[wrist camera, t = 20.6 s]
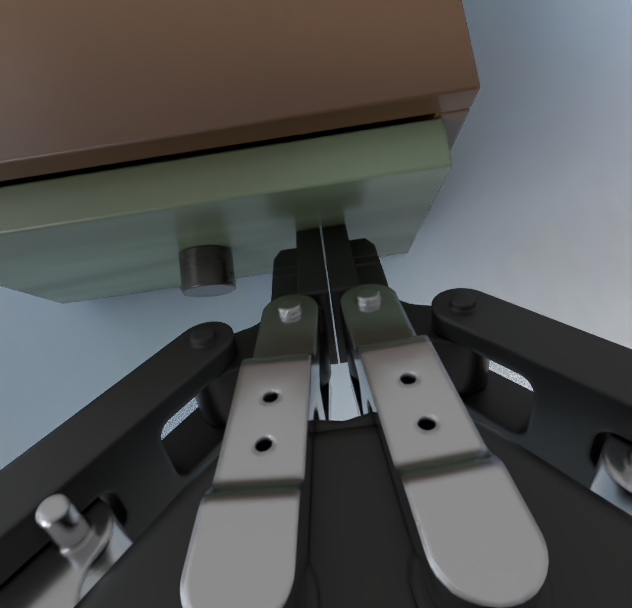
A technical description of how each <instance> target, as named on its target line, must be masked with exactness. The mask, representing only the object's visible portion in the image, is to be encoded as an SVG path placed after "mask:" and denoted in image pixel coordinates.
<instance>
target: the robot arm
mask: <svg viewBox="0 0 632 608" xmlns="http://www.w3.org/2000/svg"><path fill="white" fill-rule="evenodd" d="M322 234H323V241H324V249H325V256H326V264H327V271H328V279H329V286H330V293H331V300H332V307H333V314H334V321H335V329H336V336H337V343H338V350H339V357H340V363H345V362H348V367H349V373H350V381H351V387H352V391H353V395H354V398H355V402H356V406H357V410H358V414H359V416H358V417H355V418H352V419H350V420H346V421H332V420H331V383H330V377H331V364H338V359H337V351H336V344H335V336H334V328H333V320H332V313H331V305H330V297H329V289H328V282H327V275H326V268H325V261H324V254H323V247H322V240H321V233H320V228H319V229H312V230H305V231H298V232H296V248H292V249H285V250H281V251H280V252H279V253H278V255H277V256H276V257H275V258H274V263H273V280H272V297H271V302H270V303H269V304H268V305H267V306H266V307H265V308H264V310H263V313H262V317H261V322H260V323H258V324H257V325H255V326H253V327H250V328H248V329H245V330H242V331H240V332H237V333H233V330H232V328H231V327H230V326H229V325H227V324H225V323H222V322H206V323H202V324H199V325H196V326H194V327H192V328H190V329H188V330H187V331H185V332H184V333H182V334H181V335H180V336H178V337H177V338H176V339H174V340H173V341H172V342H170V343H169V344H168V345H166V346H165V347H164V348H162V349H161V350H160V351H158V352H157V353H156V354H154V355H153V356H152V357H150V358H149V359H148V360H146V361H145V362H144V363H142V364H141V365H140V366H138V367H137V368H136V369H135V370H133V371H132V372H131V373H129V374H128V375H127V376H125V377H124V378H123V379H121V380H120V381H119V382H117V383H116V384H115V385H113V386H112V387H111V388H109V389H108V390H107V391H105V392H104V393H103V394H101V395H100V396H99V397H97V398H96V399H95V400H93V401H92V402H91V403H89V404H88V405H87V406H85V407H84V408H83V409H81V410H80V411H79V412H77V413H76V414H75V415H73V416H72V417H71V418H69V419H68V420H67V421H65V422H64V423H63V424H61V425H60V426H59V427H57V428H56V429H55V430H53V431H52V432H51V433H49V434H48V435H47V436H45V437H44V438H43V439H41V440H40V441H39V442H37V443H36V444H35V445H33V446H32V447H31V448H29V449H28V450H27V451H25V452H24V453H23V454H21V455H20V456H19V457H17V458H16V459H15V460H13V461H12V462H11V463H10V464H8V465H7V466H6V467H4V468H3V469H2V470H0V608H632V349H629V348H627V347H624V346H621V345H619V344H616V343H613V342H611V341H608V340H606V339H603V338H600V337H598V336H595V335H593V334H590V333H587V332H585V331H582V330H580V329H577V328H574V327H572V326H569V325H566V324H564V323H561V322H559V321H556V320H553V319H551V318H548V317H546V316H543V315H540V314H538V313H535V312H533V311H530V310H527V309H525V308H522V307H519V306H517V305H514V304H512V303H509V302H506V301H504V300H501V299H499V298H496V297H493V296H491V295H488V294H486V293H483V292H480V291H477V290H473V289H467V288H456V289H450V290H446V291H444V292H441V293H440V294H438V295H437V296H436V297H435V298H434V299H433V301H432V306H427V305H414V304H409V303H406V302H403V301H401V300H399V299H398V297H397V295H396V293H395V292H394V291H393V290H392V289H391V288H389V287H388V284H387V281H386V278H385V275H384V272H383V269H382V266H381V263H380V260H379V257H378V253H377V250H376V247H375V245H374V244H373V243H371V242H370V241H369V240H367V239H366V238H361V239H354V240H349V237H348V233H347V229H346V225H339V226H332V227H325V228H322ZM490 360H492V361H494V362H496V363H498V364H500V365H502V366H504V367H506V368H508V369H510V370H512V371H514V372H516V373H518V374H520V375H522V376H523V377H525V378H526V379H527V380H528V381H529V383H530V384H531V386H532V388H533V390H534V392H533V391H531V390H529V389H527V388H525V387H523V386H521V385H519V384H517V383H515V382H513V381H511V380H509V379H507V378H505V377H503V376H501V375H499V374H497V373H495V372H493V371H491V370H489V362H490ZM194 397H195V398H196V401H197V403H198V406H199V407H198V408H197V409H196V410H194V411H193V412H192V413H191V414H190V415H189V416H188V417H187V418H186V419H185V420H183V421H182V422H181V423H180V424H179V425H178V426H177V427H176V428H175V429H174V430H172V431H171V432H170V433H169V434H168V435H167V436H166V437H165V438H164V439H163V440H161V432H162V429H163V427H164V425H165V424H166V422H167V421H168V420H169V419H170V418H171V417H172V416H173V415H175V414H176V413H177V412H178V411H179V410H180V409H181V408H182V407H184V406H185V405H186V404H187V403H188V402H189V401H190V400H192V399H193V398H194Z"/></svg>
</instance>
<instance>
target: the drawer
mask: <svg viewBox="0 0 632 608" xmlns="http://www.w3.org/2000/svg"><path fill="white" fill-rule="evenodd" d="M392 121H393V120H388V121H382V122H376V123H369V124H363V125H357V126H350V127H344V128H337V129H332V135H329V136H323V137H316V138H310V139H304V140H297V141H291V142H284V143H278V144H272V145H265V146H259V147H252V148H246V149H240V150H233V151H227V152H220V153H214V151H213V150H212V151H205V152H199V153H192V154H185V155H178V156H171V157H164V158H157V159H150V160H143V161H137V162H130V163H123V164H116V165H101V166H95V167H88V168H82V169H76V170H69V171H63V172H56V173H50V174H44V175H37V176H31V177H25V178H18V179H12V180H5V181H0V286H2V287H6V288H10V289H13V290H17V291H20V292H24V293H27V294H31V295H34V296H38V297H42V298H45V299H49V300H52V301H56V302H59V303H70V302H76V301H83V300H90V299H97V298H103V297H110V296H117V295H124V294H131V293H137V292H144V291H151V290H158V289H164V288H171V287H178V286H181V290H182V293H183V294H184V295H186V296H191V297H211V296H218V295H223V294H227V293H230V292H232V291H234V290H235V289H236V281H235V278H239V277H246V276H253V275H259V274H266V273H273V263H274V258H275V257H276V256H277V255H278V253H279V252H280V251H281V250H285V249H292V248H296V232H298V231H305V230H312V229H319V228H320V233H321V240H322V247H323V254H324V261H325V265H327V264H326V256H325V249H324V241H323V234H322V228H325V227H332V226H339V225H346V229H347V233H348V237H349V240H354V239H361V238H366V239H367V240H369V241H370V242H371V243H373V244H374V245H375V247H376V250H377V253H378V257H381V256H388V255H395V254H402V253H407V252H408V250H409V248H410V246H411V244H412V242H413V240H414V238H415V237H416V235H417V233H418V231H419V229H420V227H421V225H422V223H423V221H424V219H425V217H426V215H427V213H428V211H429V209H430V207H431V205H432V203H433V201H434V199H435V197H436V195H437V193H438V191H439V189H440V187H441V185H442V183H443V181H444V179H445V177H446V175H447V173H448V171H449V169H450V167H451V165H452V160H451V155H450V150H449V145H448V140H447V135H446V130H445V125H444V121H443V119H441V118H438V119H432V120H425V121H419V122H412V123H406V124H400V125H393V126H392Z"/></svg>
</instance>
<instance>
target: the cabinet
mask: <svg viewBox="0 0 632 608" xmlns="http://www.w3.org/2000/svg"><path fill="white" fill-rule="evenodd" d="M479 89H480V83H479V78H478V74H477V69H476V65H475V60H474V55H473V51H472V46H471V42H470V37H469V32H468V28H467V23H466V19H465V14H464V10H463V5H462V0H0V181H5V180H12V179H18V178H25V177H31V176H37V175H44V174H50V173H56V172H63V171H69V170H76V169H82V168H88V167H95V166H101V165H108V164H114V163H120V162H127V161H133V160H139V159H146V158H152V157H159V156H165V155H171V154H178V153H184V152H191V151H197V150H203V149H210V148H216V147H222V146H229V145H235V144H242V143H248V142H254V141H261V140H267V139H274V138H280V137H286V136H293V135H299V134H305V133H312V132H318V131H325V130H331V129H337V128H344V127H350V126H357V125H363V124H369V123H376V122H382V121H388V120H393V121H392V126H393V125H400V124H406V123H412V122H419V121H425V120H432V119H438V118H441V119H443V121H444V125H445V130H446V135H447V140H448V145H449V150H451V148H452V146H453V144H454V141H455V139H456V137H457V135H458V133H459V131H460V129H461V127H462V124H463V122H464V120H465V118H466V116H467V114H468V112H469V108H470V107H471V106H472V104H473V101H474V99H475V97H476V95H477V93H478V91H479Z"/></svg>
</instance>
